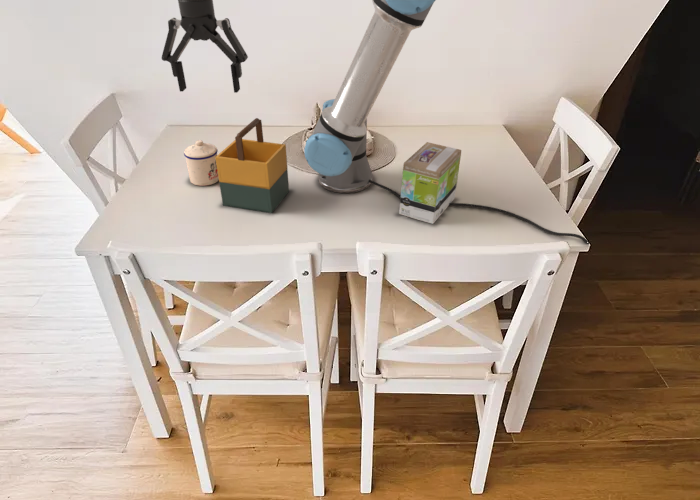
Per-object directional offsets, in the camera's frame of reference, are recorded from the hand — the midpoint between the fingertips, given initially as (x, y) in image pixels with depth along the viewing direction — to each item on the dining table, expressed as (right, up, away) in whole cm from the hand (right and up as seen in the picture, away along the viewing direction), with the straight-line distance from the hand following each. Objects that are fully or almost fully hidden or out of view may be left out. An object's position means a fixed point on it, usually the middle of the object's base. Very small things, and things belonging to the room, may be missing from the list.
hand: (210, 90), depth 132 cm
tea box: (+55, -28, +9) cm, 62 cm away
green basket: (+9, -25, +13) cm, 30 cm away
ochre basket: (+9, -20, +9) cm, 23 cm away
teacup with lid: (-7, -18, +24) cm, 31 cm away
